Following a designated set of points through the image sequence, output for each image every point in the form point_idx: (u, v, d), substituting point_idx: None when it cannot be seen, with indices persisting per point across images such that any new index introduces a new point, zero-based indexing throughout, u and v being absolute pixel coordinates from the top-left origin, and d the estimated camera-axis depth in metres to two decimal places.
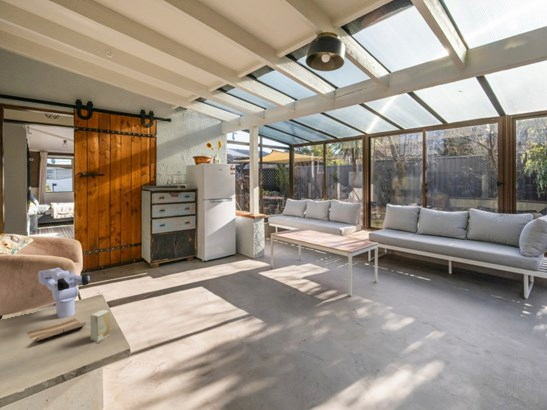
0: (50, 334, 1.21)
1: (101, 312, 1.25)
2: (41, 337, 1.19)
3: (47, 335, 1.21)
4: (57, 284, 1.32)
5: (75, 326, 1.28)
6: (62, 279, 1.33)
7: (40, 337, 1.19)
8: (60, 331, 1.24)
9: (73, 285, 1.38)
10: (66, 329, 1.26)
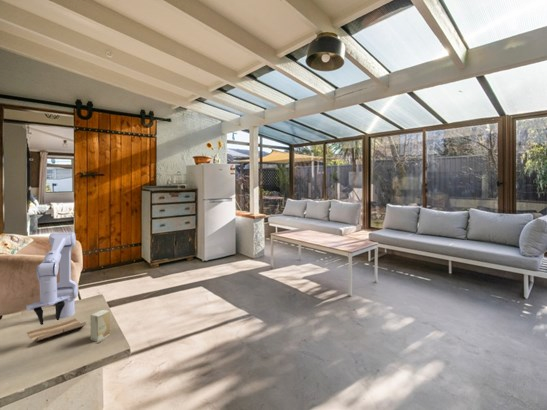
0: (50, 334, 1.21)
1: (101, 312, 1.25)
2: (41, 337, 1.19)
3: (47, 335, 1.21)
4: (34, 310, 1.17)
5: (75, 326, 1.28)
6: (40, 312, 1.17)
7: (40, 337, 1.19)
8: (60, 331, 1.24)
9: None
10: (66, 329, 1.26)
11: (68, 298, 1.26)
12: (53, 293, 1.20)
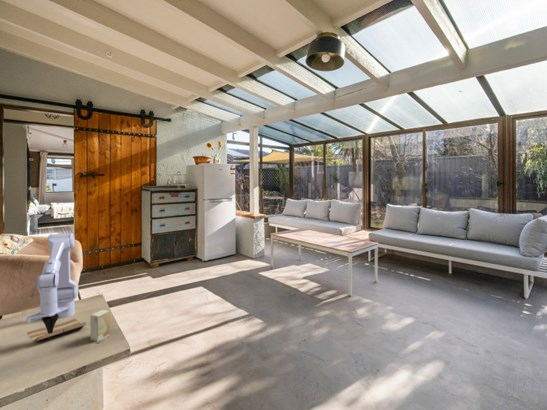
0: (50, 334, 1.21)
1: (101, 312, 1.25)
2: (41, 337, 1.19)
3: (47, 335, 1.21)
4: None
5: (75, 326, 1.28)
6: (48, 321, 1.20)
7: (40, 337, 1.19)
8: (60, 331, 1.24)
9: None
10: (66, 329, 1.26)
11: (68, 309, 1.26)
12: (53, 304, 1.20)
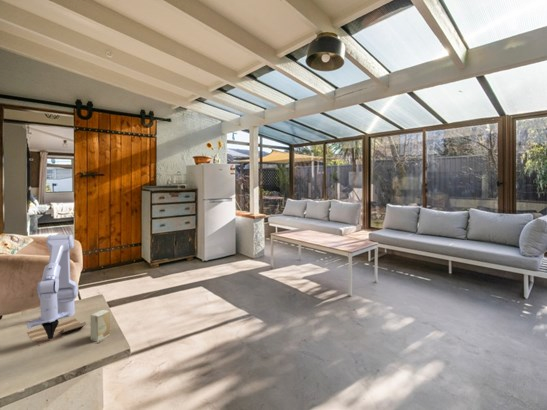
0: None
1: (101, 312, 1.25)
2: None
3: None
4: (42, 325, 1.20)
5: (75, 326, 1.28)
6: (48, 327, 1.20)
7: None
8: None
9: None
10: (66, 329, 1.26)
11: (69, 314, 1.26)
12: (54, 310, 1.21)
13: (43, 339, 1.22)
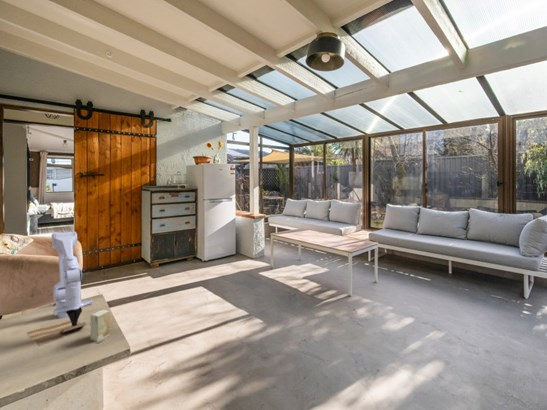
0: None
1: (101, 312, 1.25)
2: None
3: None
4: (67, 312, 1.26)
5: (75, 326, 1.28)
6: (73, 314, 1.26)
7: None
8: None
9: None
10: (66, 329, 1.26)
11: (91, 303, 1.33)
12: (78, 298, 1.27)
13: (43, 339, 1.22)
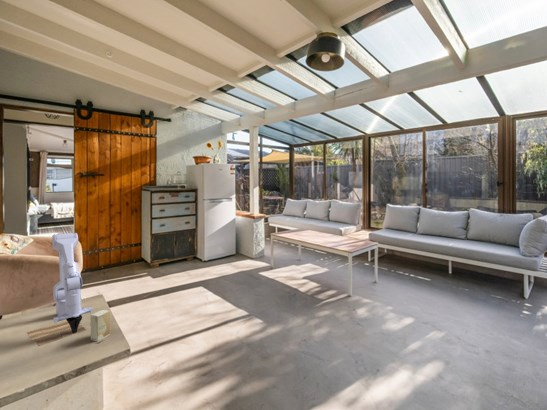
0: None
1: (101, 312, 1.25)
2: None
3: None
4: (67, 319, 1.26)
5: None
6: (73, 322, 1.27)
7: None
8: None
9: None
10: None
11: (91, 310, 1.33)
12: (78, 305, 1.27)
13: (43, 339, 1.22)
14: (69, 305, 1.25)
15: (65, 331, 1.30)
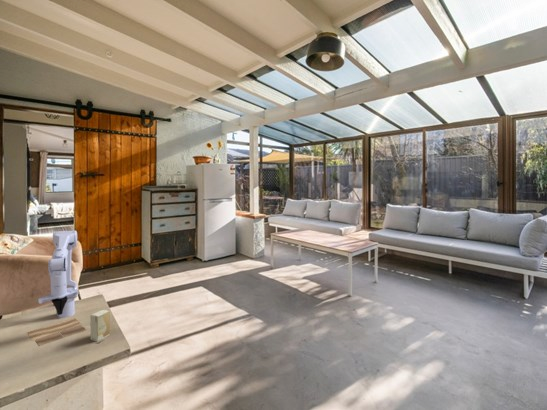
0: None
1: (101, 312, 1.25)
2: None
3: None
4: (52, 301, 1.26)
5: None
6: (58, 303, 1.26)
7: None
8: None
9: None
10: None
11: (77, 292, 1.33)
12: (63, 287, 1.27)
13: (43, 339, 1.22)
14: (54, 286, 1.25)
15: (65, 331, 1.30)
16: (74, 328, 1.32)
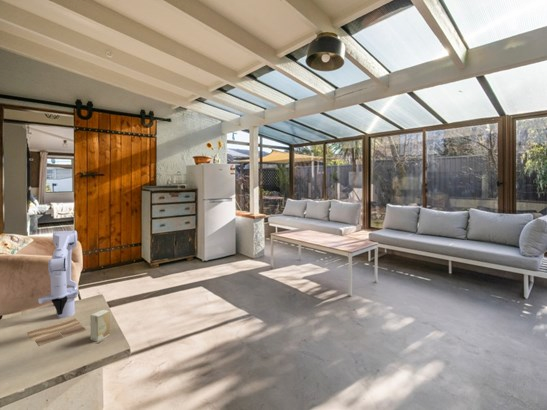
0: None
1: (101, 312, 1.25)
2: None
3: None
4: (52, 301, 1.26)
5: None
6: (58, 303, 1.26)
7: None
8: None
9: None
10: None
11: (77, 292, 1.33)
12: (63, 287, 1.27)
13: (43, 339, 1.22)
14: (54, 286, 1.25)
15: (65, 331, 1.30)
16: (74, 328, 1.32)
